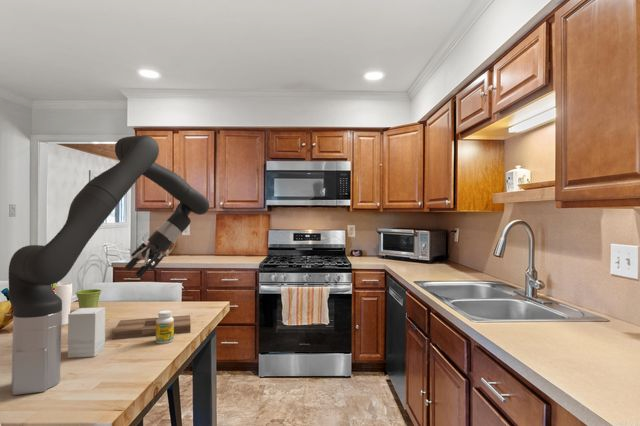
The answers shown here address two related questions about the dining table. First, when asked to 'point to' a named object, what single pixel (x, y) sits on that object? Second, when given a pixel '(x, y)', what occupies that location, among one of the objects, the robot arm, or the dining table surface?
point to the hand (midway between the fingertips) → (131, 272)
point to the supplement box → (86, 332)
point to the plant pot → (88, 298)
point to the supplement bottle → (164, 327)
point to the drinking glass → (64, 299)
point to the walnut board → (148, 327)
